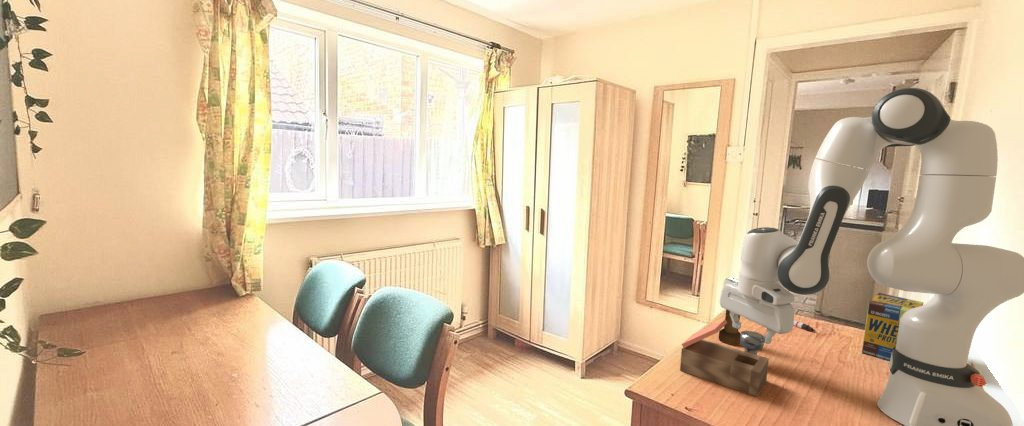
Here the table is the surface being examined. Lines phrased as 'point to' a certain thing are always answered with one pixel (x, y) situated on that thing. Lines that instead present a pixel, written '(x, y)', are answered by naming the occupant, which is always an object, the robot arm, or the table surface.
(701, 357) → the block
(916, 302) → the protein box
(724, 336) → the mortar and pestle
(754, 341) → the grey domed cylinder
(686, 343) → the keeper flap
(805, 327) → the marker
